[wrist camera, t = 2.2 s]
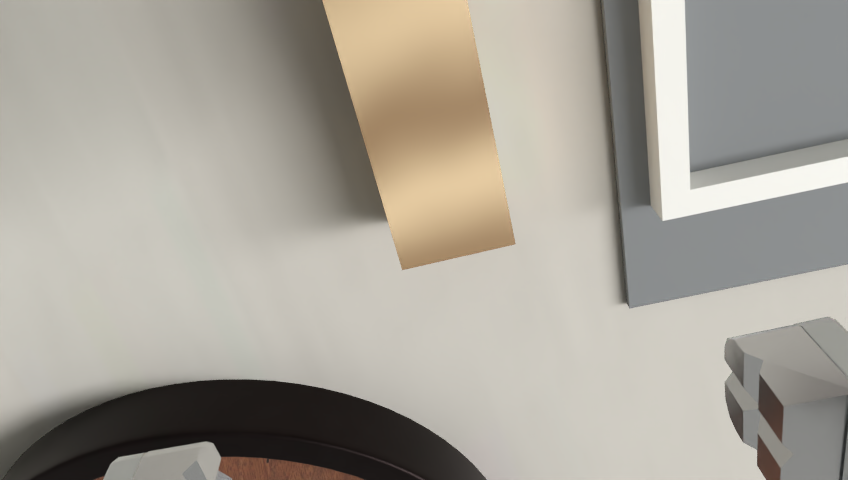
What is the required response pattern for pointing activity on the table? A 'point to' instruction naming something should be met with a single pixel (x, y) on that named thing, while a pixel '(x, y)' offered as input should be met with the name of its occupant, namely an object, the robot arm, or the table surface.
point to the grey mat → (727, 141)
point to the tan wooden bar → (424, 124)
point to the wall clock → (249, 435)
